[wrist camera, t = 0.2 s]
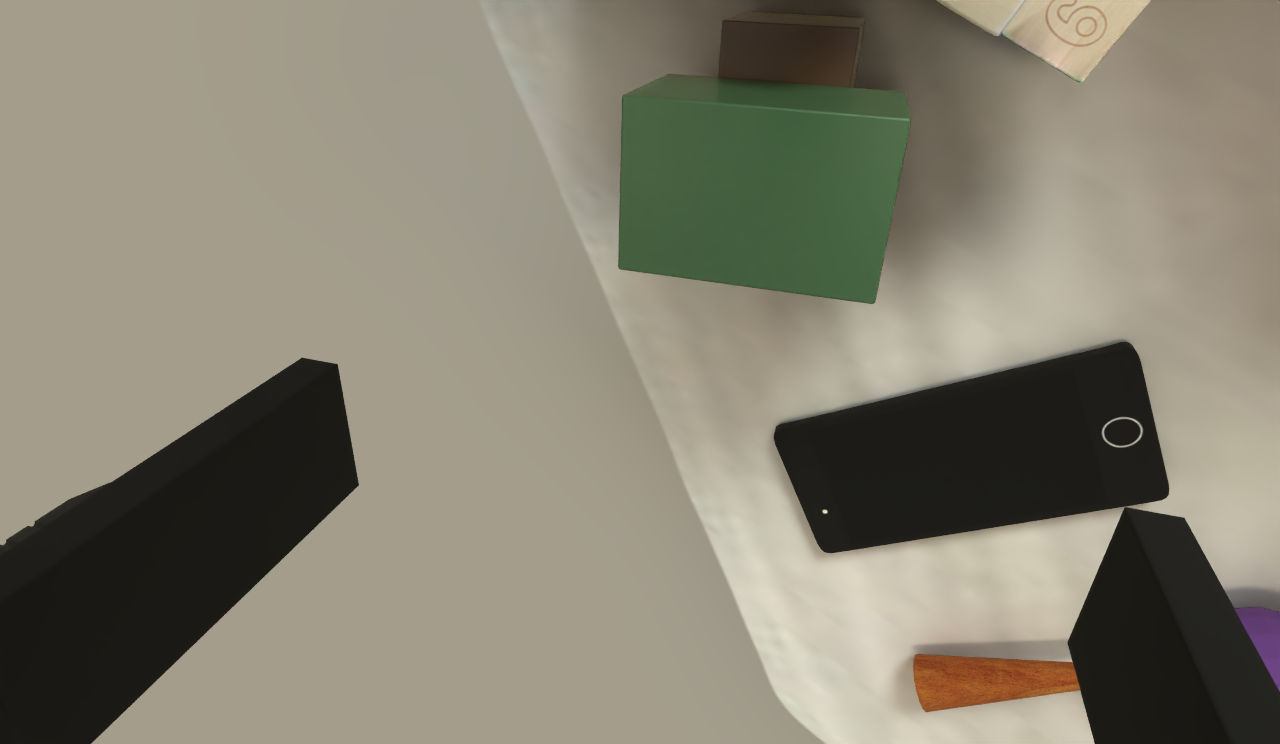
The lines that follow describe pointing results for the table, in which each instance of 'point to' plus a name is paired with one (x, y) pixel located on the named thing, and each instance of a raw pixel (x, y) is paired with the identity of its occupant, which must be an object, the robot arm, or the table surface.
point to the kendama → (1046, 670)
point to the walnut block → (791, 48)
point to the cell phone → (979, 453)
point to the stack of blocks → (1055, 27)
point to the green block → (761, 183)
